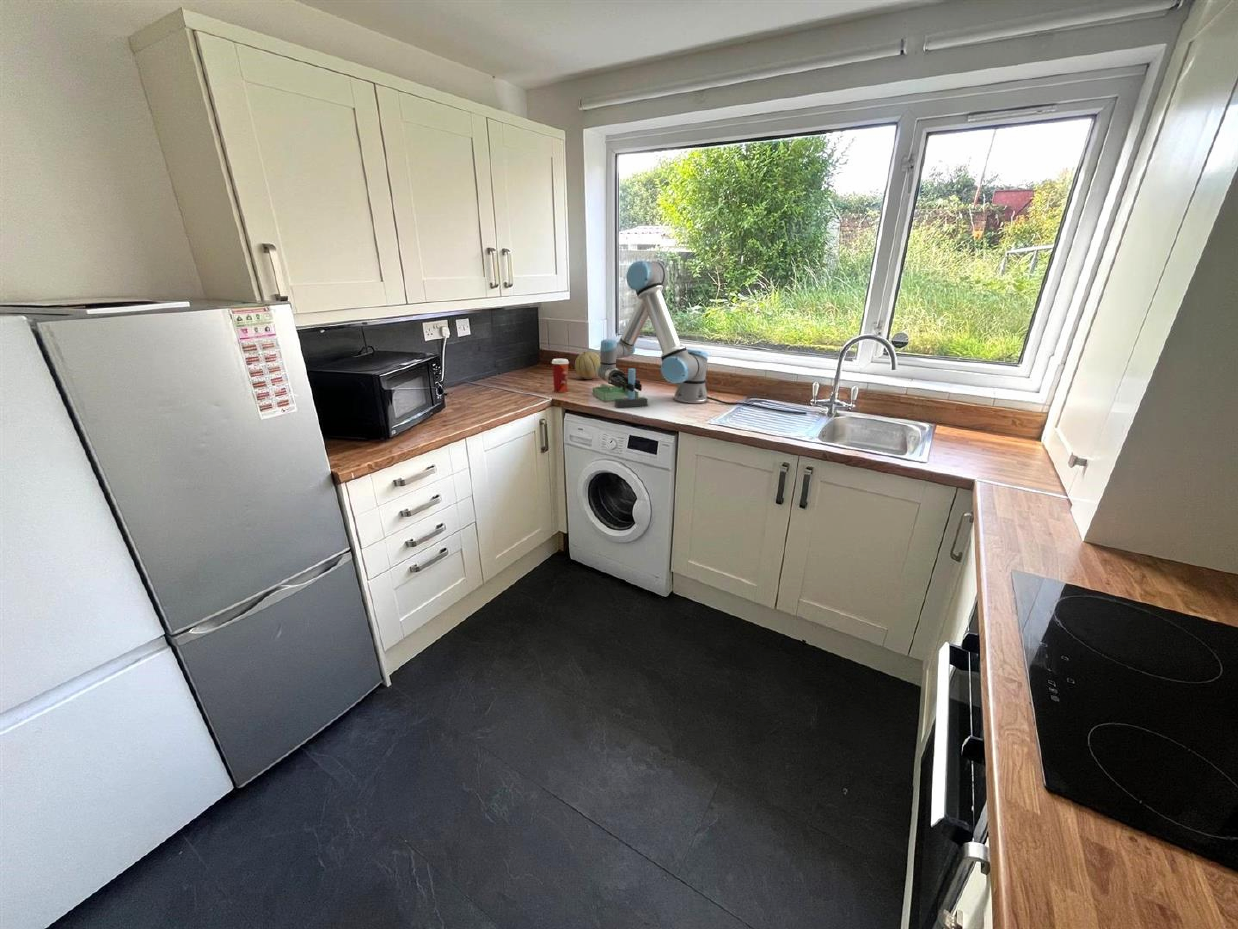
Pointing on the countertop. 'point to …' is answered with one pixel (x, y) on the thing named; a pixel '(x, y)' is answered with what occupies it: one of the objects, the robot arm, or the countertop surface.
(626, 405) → the wiper
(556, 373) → the coffee cup
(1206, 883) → the countertop surface
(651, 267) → the robot arm
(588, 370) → the cantaloupe
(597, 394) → the green tray
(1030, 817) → the countertop surface
